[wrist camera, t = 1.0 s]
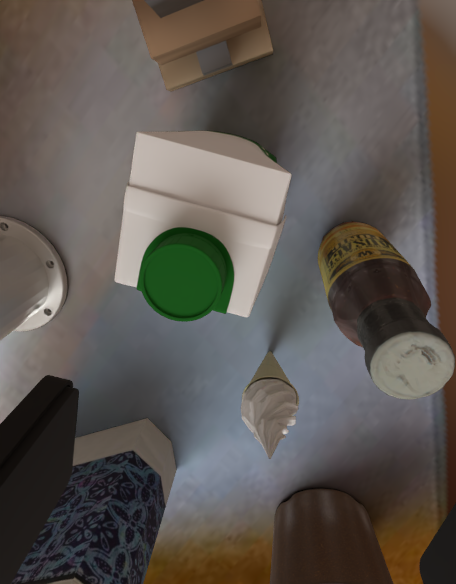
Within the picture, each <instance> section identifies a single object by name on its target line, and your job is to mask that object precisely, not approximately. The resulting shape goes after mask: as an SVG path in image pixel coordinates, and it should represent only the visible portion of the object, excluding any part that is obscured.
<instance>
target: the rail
mask: <svg viewBox="0 0 456 584" xmlns="http://www.w3.org/2000/svg"><path fill="white" fill-rule="evenodd" d="M257 1H258V5H259V10H260V14H261V27H259V28H257V29H254V30H252V31H249V32H246V33H244V34H241V35H239V36H236V37H233V38H231V39H228V40H226V41H223V42H220V43H218V44H215V45H213V46H210V47H208V48H205V49H202V50H200V51H197V52H195V53H192V54H189V55H187V56H184V57H182V58H179V59H176V60H174V61H171V62H169V63H166V64H164V65H161V64H159V63H158V65H159V68H160V71H161V74H162V77H163V80H164V83H165V86H166V89H167V90H168V91H174V90H176V89H179V88H182V87H184V86H187V85H190V84H193V83H195V82H198V81H201V80H203V79H206V78H209V77H211V76H214V75H217V74H220V73H222V72H225V71H228V70H230V69H233V68H236V67H238V66H241V65H244V64H247V63H249V62H252V61H255V60H257V59H260V58H263V57H265V56H268V55H271V54H273V47H272V43H271V39H270V35H269V30H268V26H267V22H266V17H265V13H264V9H263V5H262V0H257Z"/></svg>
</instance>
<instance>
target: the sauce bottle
mask: <svg viewBox="0 0 456 584" xmlns="http://www.w3.org/2000/svg"><path fill="white" fill-rule="evenodd" d="M318 264H319V268H320V272H321V276H322V279H323V283H324V287H325V291H326V295H327V299H328V303H329V306H330V308H331V310H332V312H333V317H334V321H335V323H336V324H337V326H338V327H339V329H340V330H341V332H342V333H343V334H344V335H345V336H346V337H347V338H348V339H349V340H351V341H352V342H353V343H355V344H356V345H358V346H361V347H363V348H364V350H365V364H366V366H367V370H368V372H369V374H370V376H371V378H372V380H373V382H374V383H375V385H376V386H377V387H378V388H379V389H380V390H381V391H383V392H385V393H386V394H387V395H390V396H393V397H395V398H400V399H416V398H420V397H425V396H429V395H431V394H433V393H435V392H437V391H438V390H440V389H441V388H442V387H443V386H444V385H445V383H446V382H447V381H448V380H449V379H450V377H451V376H452V374H453V371H454V367H455V356H454V354H453V351H452V348H451V346H450V345H449V343H448V341H447V340H446V338H445V337H444V335H443V334H442V333H441V332H440V330H439V329H437V328H435V327H434V326H433V325H431V324H430V323H429V322H428V320H426V315H427V313H428V310H429V309H430V307H431V301H430V298H429V296H428V294H427V292H426V290H425V289H424V287H423V285H422V283H421V281H420V279H419V278H418V276H417V274H416V272H415V270H414V269H413V268H412V267H411V265H410V264H409V263H408V262H407V261H406V260H405V259H404V257H403V256H402V255H401V254H400V253H399V252H398V251H397V250H396V249H395V248H394V247H393V245H392V244H391V243H390V242H389V241H388V240H387V239H386V238H385V237H384V236H383V235H382V233H380V232H379V231H378V230H377V229H376V228H374V227H372V226H370V225H368V224H365V223H360V222H353V221H352V222H345V223H342V224H339V225H338V226H336V227H335V228H333V229H332V230H330V231H329V232H328V233H327V234H326V235H325V236H324V237H323V240H322V243H321V245H320V248H319V251H318Z"/></svg>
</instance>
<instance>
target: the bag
mask: <svg viewBox="0 0 456 584" xmlns="http://www.w3.org/2000/svg"><path fill="white" fill-rule="evenodd" d="M176 470H177V469H176V464H175V458H174V453H173V447H172V442H171V441H170V440H169V439H168V438H167V437H166V436H165V435H164V434H163V433H162V432H161V431H160V430H159V429H158V428H157V427H156V426H155V425H154V424H153V423H152V422H151V421H150V420H149V419H148V418H146V419H142V420H139V421H135V422H132V423H128V424H124V425H121V426H117V427H113V428H110V429H106V430H103V431H99V432H95V433H92V434H88V435H84V436H81V437H77V438H75V444H74V456H73V468H72V474H71V477H70V480H69V483H68V485H67V487H66V489H65V490H64V492H63V494H62V496H61V497H60V499H59V501H58V503H57V504H56V506H55V508H54V509H53V511H52V513H51V515H50V516H49V518H48V520H47V522H46V523H45V525H44V527H43V529H42V530H41V532H40V534H39V536H38V537H37V539H36V541H35V543H34V544H33V546H32V548H31V549H30V551H29V553H28V555H27V556H26V558H25V560H24V562H23V563H22V565H21V567H20V569H19V570H18V572H17V574H16V576H15V577H14V579H13V581H12V583H11V584H143V581H144V578H145V575H146V571H147V568H148V565H149V561H150V558H151V554H152V551H153V548H154V544H155V541H156V537H157V534H158V531H159V527H160V524H161V521H162V517H163V514H164V510H165V507H166V504H167V500H168V497H169V494H170V490H171V487H172V483H173V480H174V477H175V473H176Z"/></svg>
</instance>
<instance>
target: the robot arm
mask: <svg viewBox="0 0 456 584" xmlns="http://www.w3.org/2000/svg"><path fill="white" fill-rule="evenodd" d="M66 294H67V276H66V272H65V268H64V265H63V263H62V261H61V258H60V256H59V255H58V253H57V251H56V250H55V248H54V247H53V246H52V244H51V243H50V242H49V241H48V240H47V239H46V238H45V237H44V236H43V235H42V234H41V233H40V232H38V231H37V230H36V229H35V228H33V227H31V226H30V225H28V224H26V223H24V222H22V221H19V220H17V219H14V218H11V217H6V216H0V340H2V339H3V338H4V337H6V336H7V335H8V334H9V333H11V332H12V331H30V330H34V329H37V328H39V327H42V326H43V325H45V324H47V323H48V322H50V321H51V320H52V319H53V318H54V317H55V316H56V315H57V314H58V313H59V311H60V310H61V308H62V307H63V304H64V302H65V299H66ZM78 397H79V390H78V389H76V388H73V383H72V381H70V380H66V379H62V378H58V377H54V376H50V375H47V376H45V377H44V378H43V379H42V380H41V381H40V382H39V383H38V384H37V385H36V386H35V387H34V388H33V389H32V390H31V392H30V393H29V394H28V395H27V396H26V397H25V398H24V399H23V400H22V401H21V402H20V403H19V405H18V406H17V407H16V408H15V409H14V410H13V411H12V412H11V413H10V414H9V415H8V416H7V417H6V419H5V420H4V421H3V422H2V423H1V424H0V584H11V583H12V581H13V579H14V577H15V576H16V574H17V572H18V570H19V569H20V567H21V565H22V563H23V562H24V560H25V558H26V556H27V555H28V553H29V551H30V549H31V548H32V546H33V544H34V543H35V541H36V539H37V537H38V536H39V534H40V532H41V530H42V529H43V527H44V525H45V523H46V522H47V520H48V518H49V516H50V515H51V513H52V511H53V509H54V508H55V506H56V504H57V503H58V501H59V499H60V497H61V496H62V494H63V492H64V490H65V489H66V487H67V485H68V483H69V480H70V477H71V474H72V468H73V456H74V444H75V433H76V421H77V409H78ZM420 574H421V577H422V580H423V583H424V584H456V504H455V505H454V507H453V508H452V510H451V512H450V513H449V515H448V516H447V518H446V519H445V521H444V522H443V524H442V525H441V527H440V529H439V530H438V532H437V533H436V535H435V536H434V538H433V540H432V541H431V543H430V544H429V546H428V547H427V549H426V550H425V552H424V554H423V555H422V557H421V559H420Z"/></svg>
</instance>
